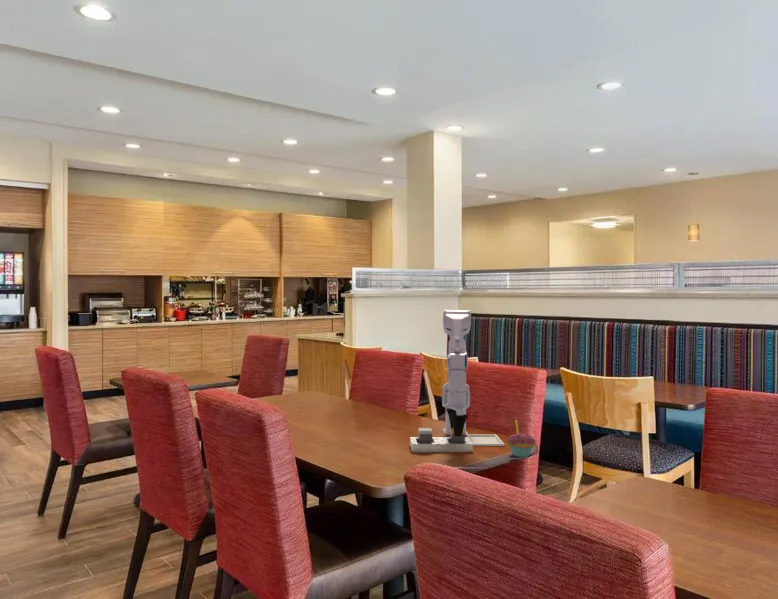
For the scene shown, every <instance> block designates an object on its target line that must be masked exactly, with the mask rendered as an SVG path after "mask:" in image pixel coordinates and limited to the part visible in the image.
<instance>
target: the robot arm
mask: <svg viewBox="0 0 778 599" xmlns="http://www.w3.org/2000/svg"><path fill="white" fill-rule="evenodd" d="M442 312H443V313H442V314H443V315H442V316H443V317H442V326H443V331H444V334H447V335H448V336H449V340H448V354H447V356H446V369H447V382H445V383H444V384H443V386H442V391H441V392H442V394H441V399H442V400H441V404H442V407H443V408H445V428H443V427H442V431H443V432H444V434H445V435H450V428H453V429H454V435H455V436H462V433H463V429H464V430H465V436H466V434H469V433H468V432H467V431H466V430H467V429H466V428H467V420H468V418H469V415H468V414H467V409H468V408H469V407H471V391H470V390H471V388H470V386H469V384H467V372H468V367H469V366H468V365H469V359H468V353H467V352H468V351H467V342H466V340H465V339H464V338H465V335H468V334H469V333H470V331H471V326H472V311H471V310H470V309H465V310H463V309H461V310H460V309H455V310H453V309H444V310H443V311H442Z"/></svg>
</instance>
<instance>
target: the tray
mask: <svg viewBox="0 0 778 599" xmlns="http://www.w3.org/2000/svg"><path fill="white" fill-rule="evenodd" d="M465 437H468V438H469V439H470V441H471V442H472V444H473V447H505V443H504V442H503V440H501V438H500V437H499V436H498V435H497V434H496V433H495V434H494V433H493V434H479V433H477V434H475V433H474V434H470V433H468V434H466V435H465Z"/></svg>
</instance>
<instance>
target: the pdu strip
mask: <svg viewBox="0 0 778 599" xmlns="http://www.w3.org/2000/svg"><path fill="white" fill-rule="evenodd" d="M409 447H410V450H411V451H410V452H411V453H473V451H474V450H473V447H474V446H473V444H472V442H471V441H470V439H469V438H468V437H466V436H465V443H450V436H441V437H440V436H432V443H418V436H410V437H409Z"/></svg>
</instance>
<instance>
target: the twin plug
mask: <svg viewBox="0 0 778 599" xmlns="http://www.w3.org/2000/svg"><path fill="white" fill-rule="evenodd" d="M417 429H418V430H417V432H418V433H417V434H418V436H417V437H418V443H432V437H433V430H432V428H431V427H418V428H417Z"/></svg>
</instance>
